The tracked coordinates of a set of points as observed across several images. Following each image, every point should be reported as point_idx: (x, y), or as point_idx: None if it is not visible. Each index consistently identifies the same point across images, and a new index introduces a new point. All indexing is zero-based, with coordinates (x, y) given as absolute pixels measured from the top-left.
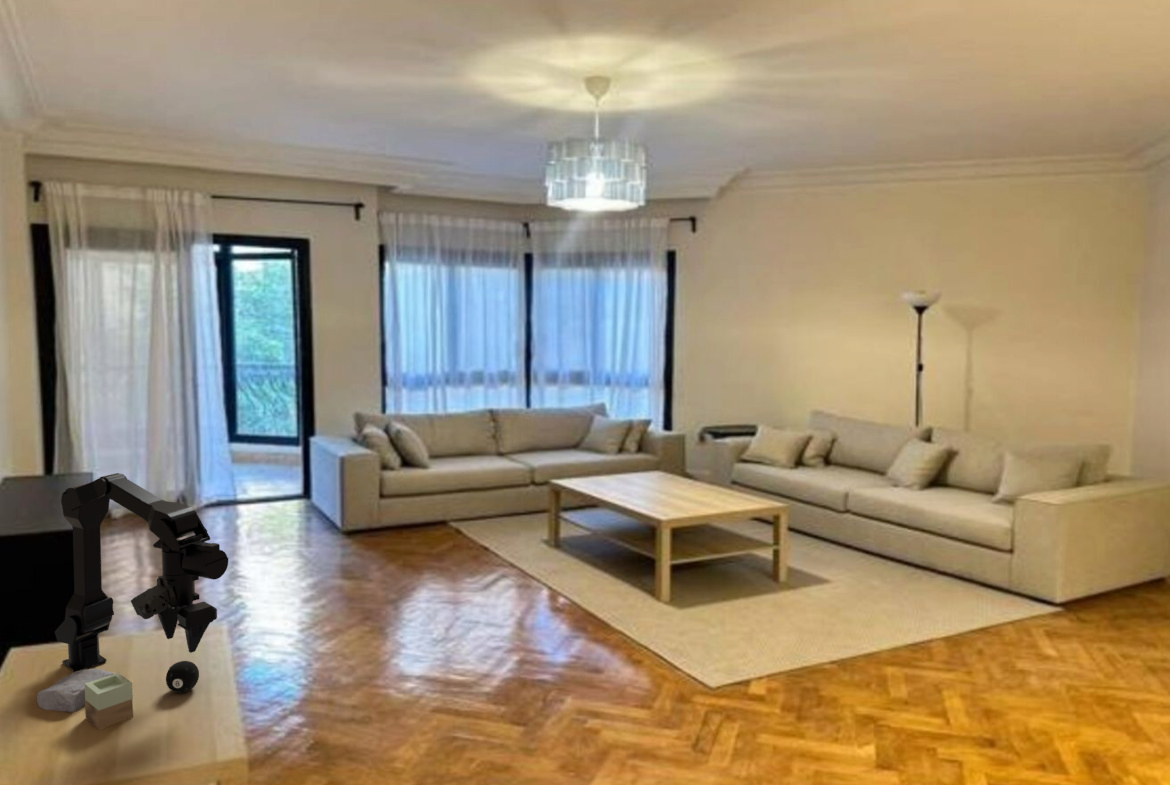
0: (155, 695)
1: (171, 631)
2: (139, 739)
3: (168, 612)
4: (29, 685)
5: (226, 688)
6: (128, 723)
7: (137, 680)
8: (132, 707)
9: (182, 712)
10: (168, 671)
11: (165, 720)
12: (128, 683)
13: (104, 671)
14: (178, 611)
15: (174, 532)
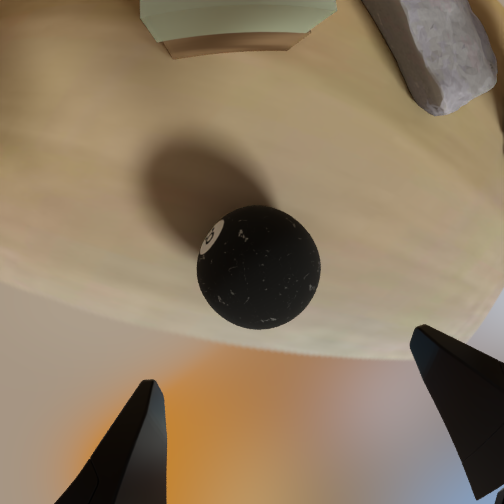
0: (279, 163)
1: (430, 367)
2: (31, 64)
3: (501, 441)
4: (498, 21)
5: (179, 333)
6: (139, 40)
7: (409, 164)
8: (169, 51)
9: (99, 198)
10: (278, 234)
11: (81, 142)
12: (144, 1)
13: (466, 95)
14: (465, 460)
15: None
